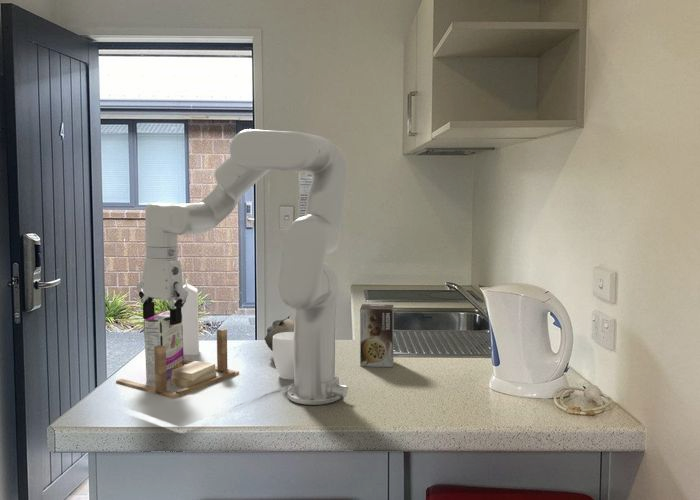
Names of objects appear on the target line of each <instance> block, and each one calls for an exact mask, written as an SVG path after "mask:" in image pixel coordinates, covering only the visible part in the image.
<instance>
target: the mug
mask: <svg viewBox="0 0 700 500" xmlns="http://www.w3.org/2000/svg"><path fill="white" fill-rule="evenodd" d="M272 357H273V359H274V361H273V362H274V366H275V368H276V371H277V373H278V376H279V378H280V379H283V380H294V332H282V333H277V334H275V335H274V336H273V351H272Z"/></svg>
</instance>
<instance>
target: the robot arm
mask: <svg viewBox="0 0 700 500" xmlns="http://www.w3.org/2000/svg"><path fill="white" fill-rule="evenodd" d="M229 144H230V145H229V154H230V155H229V156H228V158H227V159H225V160H224V161H223V162H222V163H221V164H220V165H218V166H217V167H216V168H215V171H214V178H215V180H216V185H215V186H214V188H213V189H212V191H210V193H209V194H207V195H206V196H205V197H204V198H203V199H202V200H200V201H199V202H190V203H176V204H174V203H169V202H168V203H167V202H153V203H148V204H147V205H146V207H145V213H144V214H145V215H144V216H145V219H144V220H145V258H144V262H143V263H144V264H143V272H142V274H143V275H142V281H141V282H139V283H137V284H136V289H137V291H138V296H139V298H140V299H141V300H140V302H141V304H142V319H143V320H146V319H148V318H150V317H153V316H155V315H156V314H155V306H156V305H155V301H154V300H155V299H156V300H161V301H167V302H168V303H169V306H170V307H171V308H170V309H169V311H170V325H175V324H180V323H181V308H182V307H183V305H184V304H185V302H186V299H187V296H188V292H187V291H186V290H185V289H184V288H183V285H184V280H183V271H182V265H181V260H180V259H179V258H178V255H179V250H178V236H189V235H190V236H191V235H197V234H203V233H207V232H210V231H212V230H214V228H216V227H217V226H218V225H219V224H220V223H221V222H223V221H224V220H225V219H226V218H227V217H229V215H230V214H232V213H233V211H234V210H235V209H236V207H237V205H238V204H239V202H240V200H241V198H242V197H243V195H244V194H245V193H246V192H248V190H250V189H251V188H253V186H254V185H255V184H256V183H257V182H258V181H260V179H262V178H263V177H264V176H266V174H268V173H269V172H270V171H275V172H276V171H278V172H279V171H280V172H290V173H291V172H292V173H305V174H306V173H307V174H311V177H312V179H311V183H310V184H309V189H308V191H307V198H306V199H307V200H306V207H305V212H304V215H303V216H300V217H298V218H297V219H295V220H294V221H292V222H291V224H290V225H289V226H288V228H287V229H286V233H285V234H284V239H283V244H282V250H281V259H280V266H279V273H278V274H279V275H278V281H277V282H278V283H277V285H278V286H277V287H278V293H279V297H280V299H281V300H282V302H283V303H284V304H285V306H287V307H289V309H292V310H294V315H293V318H294V319H293V321H294V379H293V386H291V387H289V389H288V390H287V393H286V397H287V399H288V400H290V401H291V402H293V403H296V404H300V405H307V406H309V405H310V406H316V405H317V406H319V405H327V404H331V403H334V402H337V401H338V400H340V399H341V397H342V398H346V397H347V394H348V391H349V386H348V385H345V384H340V377H337V376H336V312H337V301H338V294H339V278H338V275H337V273H336V270H335V269H334V267H332V266H331V264H329V263H327V262H326V261H325V257H326V256H328V255H331V254H332V253H334V252H335V251H336V250H337V249H338V248H339V246H340V242H341V236H342V228H343V227H342V226H343V221H344V213H345V204H346V197H347V190H348V183H349V168H348V167H349V166H348V162H347V160H346V157H345V155H344V153H343V152H342V151H341V149H340V148H339V147H338V146H337V145H336V144H334V142H331V141H330V140H329V139H328V138H325V137H322V136H320V135H317V134H312V133H307V132H306V133H305V132H301V131H289V130H288V131H287V130H284V131H283V130H267V129H266V130H265V129H254V128H253V129H252V128H249V129H248V128H247V129H243V130H241V131H239V132H238V133H236V134H235V136H234V137H233V138H232V139H231V142H230V143H229ZM175 301H176V303H175Z"/></svg>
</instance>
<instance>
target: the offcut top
mask: <svg viewBox="0 0 700 500" xmlns="http://www.w3.org/2000/svg"><path fill="white" fill-rule="evenodd" d="M215 366H216V363H211V362H205V361H199V360H193V362H191V363H189V364H184V366H181V367H179V368H176V369H174V370H172V378H176V379H182V380H188V381H194V380H196V379H198V378H201V377H203V376H205V375H207V374H210V373H212V372H216V371H215Z"/></svg>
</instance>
